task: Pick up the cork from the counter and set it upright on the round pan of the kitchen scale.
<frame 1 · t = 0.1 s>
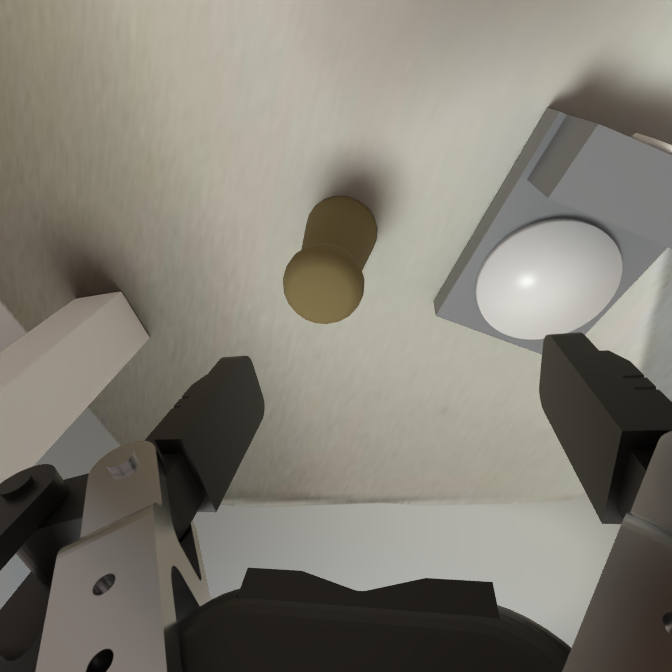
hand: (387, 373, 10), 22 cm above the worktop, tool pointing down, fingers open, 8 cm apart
milk: (114, 317, 41), on the worktop
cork: (341, 231, 32), on the worktop
kitchen scale: (549, 246, 30), on the worktop
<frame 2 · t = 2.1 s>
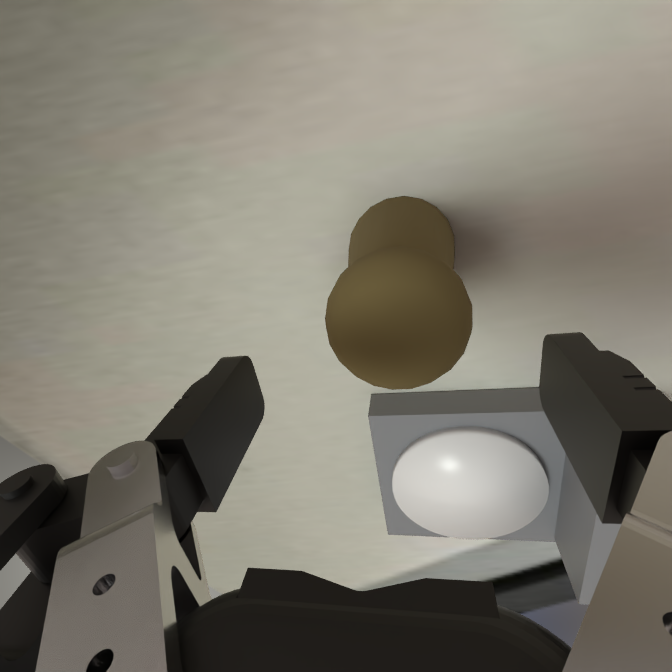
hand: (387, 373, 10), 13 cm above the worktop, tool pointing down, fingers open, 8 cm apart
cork: (400, 250, 22), on the worktop
kitchen scale: (489, 456, 28), on the worktop
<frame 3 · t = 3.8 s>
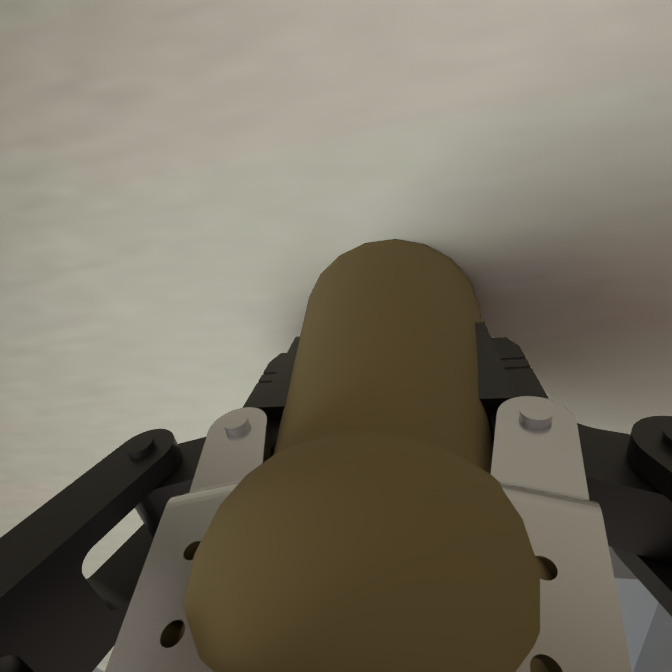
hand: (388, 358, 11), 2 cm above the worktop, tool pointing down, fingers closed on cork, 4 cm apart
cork: (390, 322, 13), on the worktop, touching gripper
kitchen scale: (520, 597, 19), on the worktop
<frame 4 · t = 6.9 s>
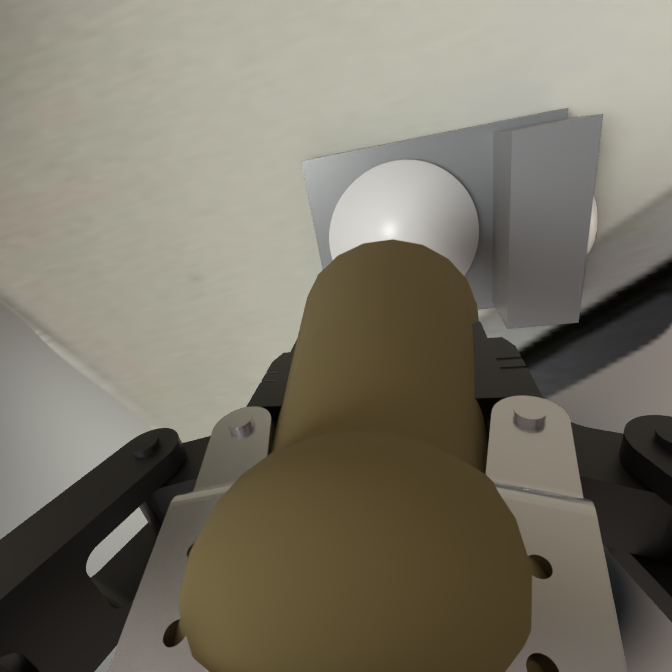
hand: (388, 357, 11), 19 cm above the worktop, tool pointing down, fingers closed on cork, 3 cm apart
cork: (388, 322, 13), point 17 cm above the worktop, touching gripper
kitchen scale: (428, 226, 28), on the worktop
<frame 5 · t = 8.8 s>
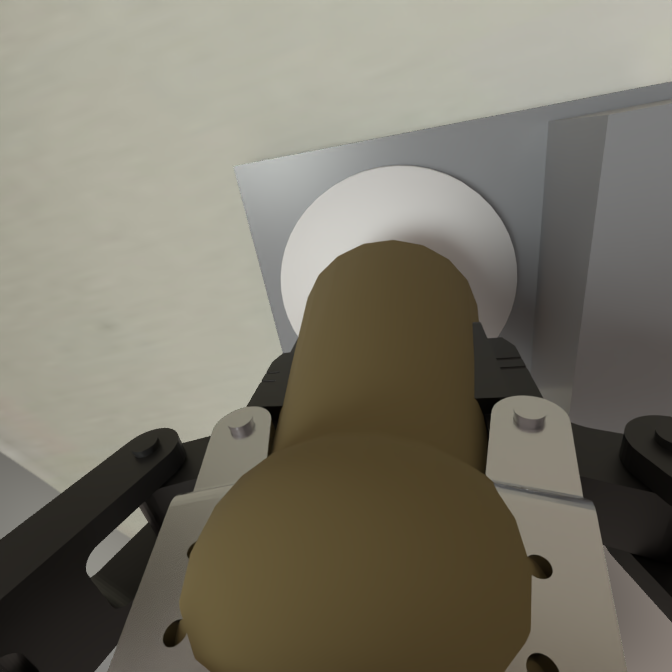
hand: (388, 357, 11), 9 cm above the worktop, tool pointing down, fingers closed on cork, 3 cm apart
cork: (388, 323, 13), point 6 cm above the worktop, touching gripper
kitchen scale: (434, 265, 19), on the worktop
when the fingers open (7 cm above the worktop, at t = 10.0 s): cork drops 2 cm, resting on kitchen scale.
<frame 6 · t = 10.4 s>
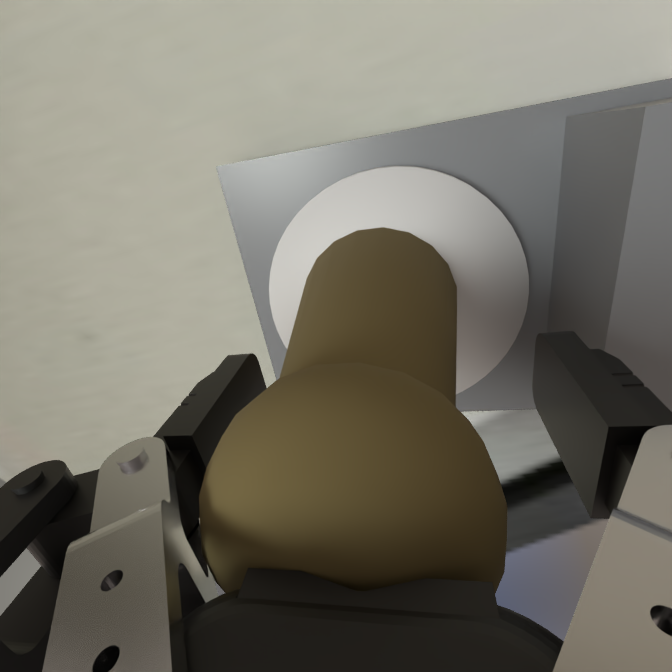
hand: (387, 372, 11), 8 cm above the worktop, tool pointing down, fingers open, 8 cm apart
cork: (378, 303, 15), point 3 cm above the worktop, touching kitchen scale
kitchen scale: (437, 274, 17), on the worktop
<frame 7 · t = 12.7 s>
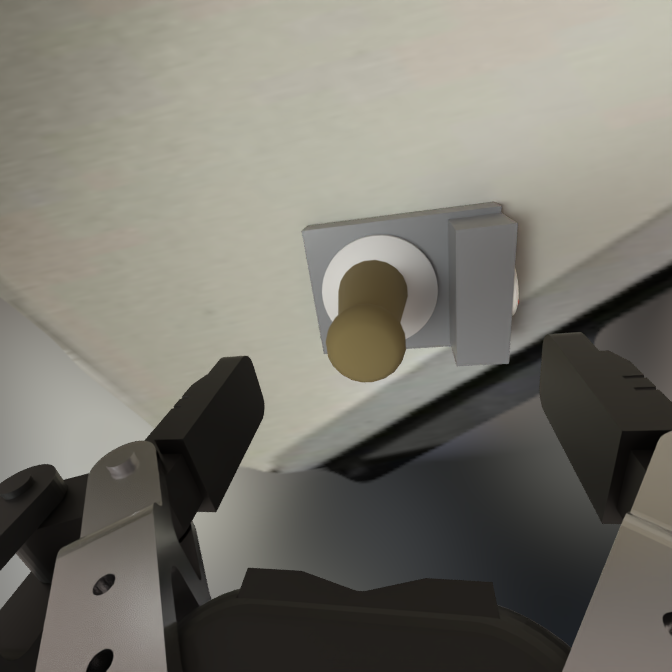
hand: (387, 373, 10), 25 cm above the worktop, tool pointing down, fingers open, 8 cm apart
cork: (372, 293, 33), point 3 cm above the worktop, touching kitchen scale
kitchen scale: (401, 280, 35), on the worktop
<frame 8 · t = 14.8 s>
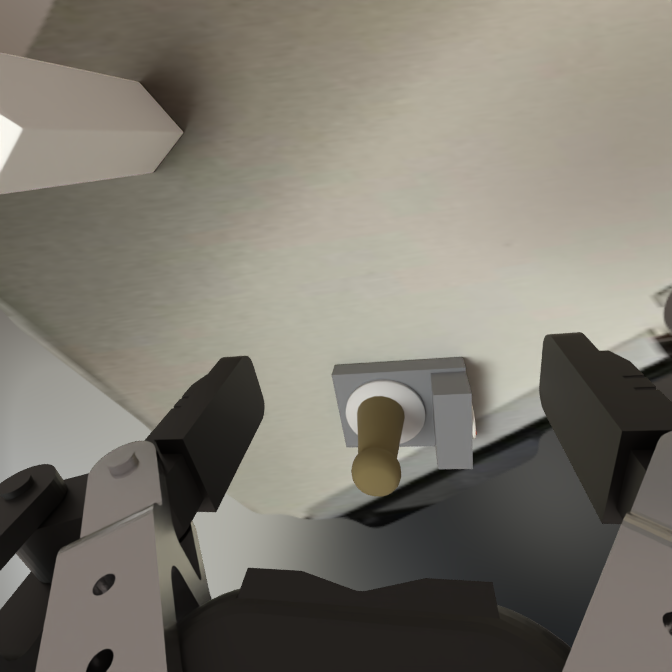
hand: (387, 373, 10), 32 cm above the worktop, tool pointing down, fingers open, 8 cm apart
milk: (147, 129, 39), on the worktop
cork: (380, 414, 48), point 3 cm above the worktop, touching kitchen scale
kitchen scale: (400, 399, 50), on the worktop
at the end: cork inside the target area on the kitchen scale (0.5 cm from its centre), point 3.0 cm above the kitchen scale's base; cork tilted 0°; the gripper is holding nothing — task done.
